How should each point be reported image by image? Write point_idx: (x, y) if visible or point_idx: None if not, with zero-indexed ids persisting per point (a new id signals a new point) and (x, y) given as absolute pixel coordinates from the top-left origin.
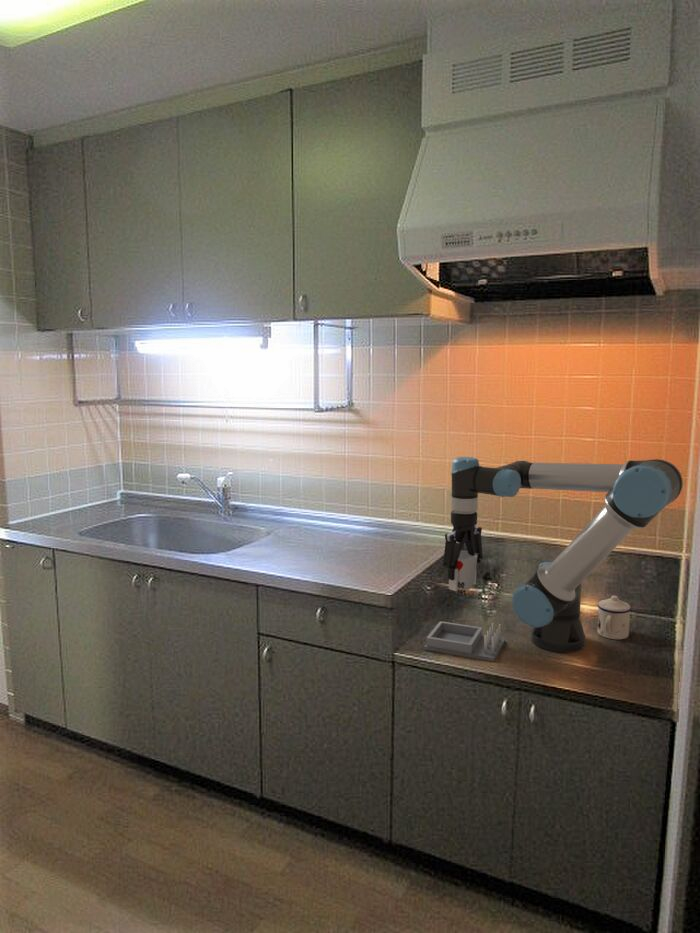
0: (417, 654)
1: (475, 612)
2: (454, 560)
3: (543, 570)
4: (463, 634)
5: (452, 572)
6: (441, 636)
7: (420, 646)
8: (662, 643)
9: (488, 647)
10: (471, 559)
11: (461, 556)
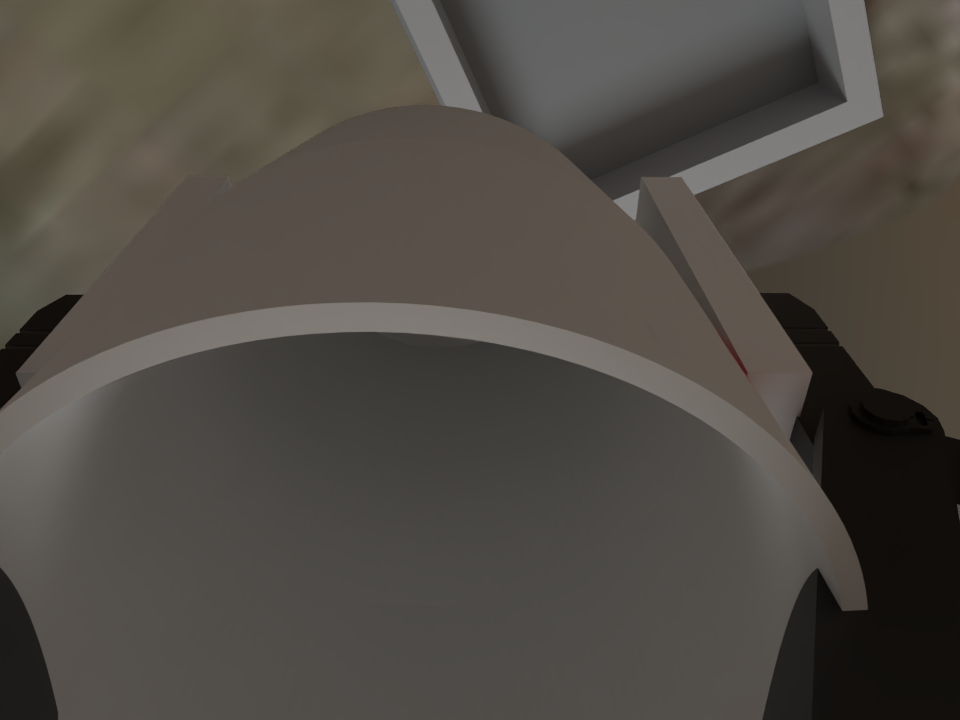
0: (956, 73)
1: (34, 286)
2: (955, 585)
3: None
4: (464, 36)
5: (847, 379)
6: (623, 136)
7: (817, 154)
8: None
9: None
10: (532, 296)
11: (215, 711)
